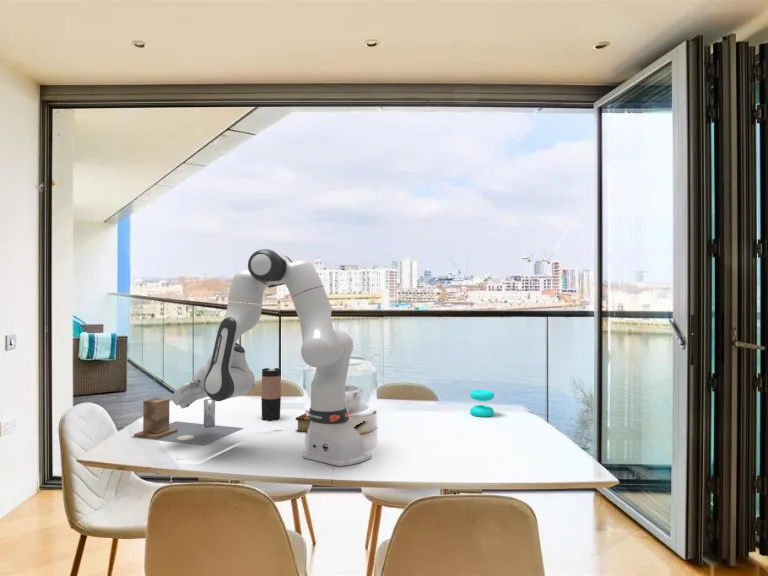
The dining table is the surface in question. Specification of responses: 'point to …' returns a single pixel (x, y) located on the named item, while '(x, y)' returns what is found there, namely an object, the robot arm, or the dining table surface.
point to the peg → (209, 413)
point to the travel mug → (271, 394)
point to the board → (196, 433)
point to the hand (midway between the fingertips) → (183, 406)
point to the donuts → (482, 409)
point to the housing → (156, 419)
